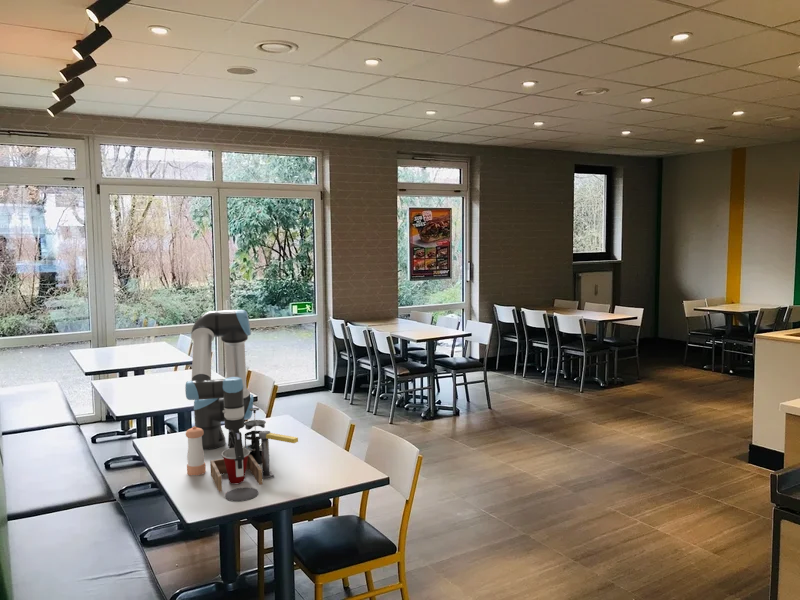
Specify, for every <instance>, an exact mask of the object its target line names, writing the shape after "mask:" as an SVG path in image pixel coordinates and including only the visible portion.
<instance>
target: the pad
mask: <svg viewBox="0 0 800 600" xmlns="http://www.w3.org/2000/svg"><path fill="white" fill-rule="evenodd" d="M258 496H259V490H258V489H256V488H254V487H250V486H249V487H248V486H246V487H244V486H243V487H237V488H234V489H230V490H228V491H227V492H225V495H224V498H225V499H226V500H227V501H231V502H245V501H246V502H247V501H250V500H252V499H256V497H258Z"/></svg>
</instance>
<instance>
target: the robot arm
mask: <svg viewBox="0 0 800 600" xmlns="http://www.w3.org/2000/svg"><path fill="white" fill-rule="evenodd" d="M251 334H252V331H251V325H250V319H249V314H248V311H246V310H245V309H225V310H210V311H206V312H205V313H203V314H202V315H200V316H199V317H198V318H197V320H196V321H195V323H194V324H193V325H192V328H191V334H190V337H191V340H192V342H193V344H192V362H191V363H192V364H191V380H190V381H186V382H185V386H184V387H185V388H184V389H185V397H186V399H187V401H188V400H189V401H193V414H194V415H193V416H194V418H193V419H194V426H195V427H197V428H201V429H202V430H203V432H204V434H203V436H202V447H203V451H204V450H212V449H214V450H215V449H218V448H220V447H223V446H225V445H226V442H227V447H228V449H230V448H234V449H235V455H236V459H234V461H235V462H236V477H241V476H244V472H243V459H244V454H243V448H244V447H243V440H242V439H243V437H242V432H240V430H241V429H243V428H244V427H245V421H246V420H247V421H249V419H250V420H251V419H252V416H253V411H250V410H249V409H251V408H254V395H253V394H252V393H251V391H250V390H249V389H248V388H247V371H246V370H247V369H246V368H247V367H246V346H245V343H246V342H247V341H248V338H249V336H251ZM218 337H220V338H221V339H220V340H221V342H222V343H224V347H225V348H224V350H225V367H226V368H225V369H226V378H217V379H212V348H213V347H212V345H213V340H214V339H215V338H218ZM223 422H224V428H225V429H226V430H228V440H226V436H225V434H224V430H223V428H222V423H223ZM239 456H241V457H239Z"/></svg>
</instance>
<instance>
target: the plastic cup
mask: <svg viewBox="0 0 800 600" xmlns="http://www.w3.org/2000/svg"><path fill="white" fill-rule="evenodd" d="M249 453H250V451H249V450H248V449H246V448H245V447H243V454H244V459H243V472H244V476H241V477H236V462H235V461H234V459H236V455H235V449H234V448H230V449H229V448H227V449H224V450H223V451H222V452H221V456H222V459H224V462H225V466H226V471H227V474H226V475H227V479H228V482H229V483H230V484H232V485H237V484H241V483H244V482H245V479H246V472H247V470H246V466H247V459H248V455H249ZM239 457H241V456H239Z"/></svg>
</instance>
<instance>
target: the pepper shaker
mask: <svg viewBox="0 0 800 600" xmlns="http://www.w3.org/2000/svg"><path fill="white" fill-rule="evenodd" d="M203 434H204V432H203V430H202V429H201V428H197V427H195V425H194V426H192V427H191V428H188V429H187V430H186V432H185V437H186V438H187V447H188V448H187V456H186V457H187V458H186V460H187V464H186V471H187V473H186V474H187V475H189V476H192V475H196V476H199V475H200V476H201V475H204V474H206V472H207V470H206V466H207V465H206V462H205V454H204V453H205V452H204V450H203V447H202V436H203Z"/></svg>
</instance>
